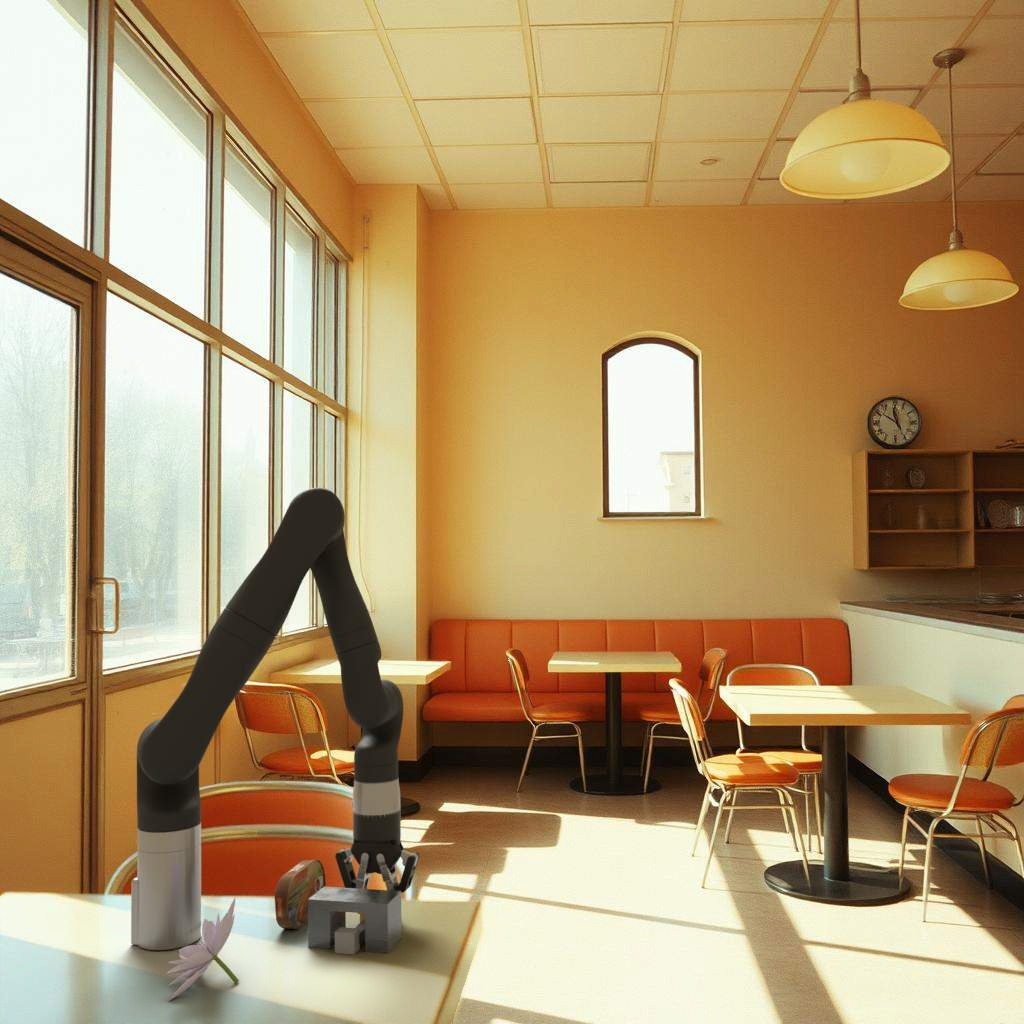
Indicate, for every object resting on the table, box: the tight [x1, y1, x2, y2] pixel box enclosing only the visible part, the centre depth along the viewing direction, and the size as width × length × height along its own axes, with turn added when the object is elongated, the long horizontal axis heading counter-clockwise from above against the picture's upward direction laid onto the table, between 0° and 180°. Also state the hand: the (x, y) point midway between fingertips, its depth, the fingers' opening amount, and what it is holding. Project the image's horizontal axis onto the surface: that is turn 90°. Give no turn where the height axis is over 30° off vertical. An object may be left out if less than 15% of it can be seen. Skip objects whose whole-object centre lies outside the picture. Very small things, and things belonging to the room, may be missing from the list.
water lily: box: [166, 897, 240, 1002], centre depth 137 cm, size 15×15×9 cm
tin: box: [274, 859, 327, 930], centre depth 161 cm, size 15×3×8 cm, turn 168°
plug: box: [334, 913, 365, 955], centre depth 154 cm, size 4×16×4 cm, turn 167°
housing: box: [307, 886, 402, 954], centre depth 151 cm, size 12×6×7 cm, turn 77°
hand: (377, 916), depth 159 cm, fingers closed on plug, 4 cm apart
